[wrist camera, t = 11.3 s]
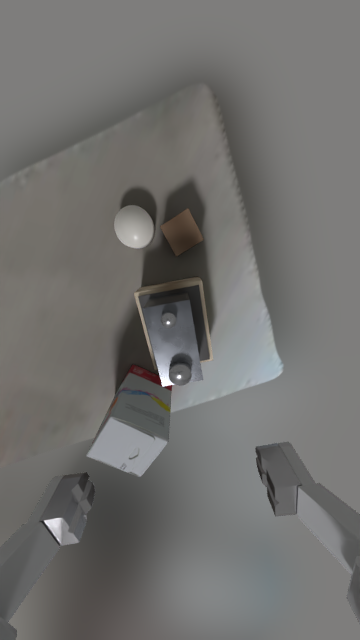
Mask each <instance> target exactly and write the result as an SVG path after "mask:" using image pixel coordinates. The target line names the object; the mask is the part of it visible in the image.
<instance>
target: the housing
mask: <svg viewBox="0 0 360 640" xmlns="http://www.w3.org/2000/svg"><path fill="white" fill-rule="evenodd" d="M142 309H143V313H144V317H145V321H146V325H147V328H148V332H149V336H150V340H151V344H152V348H153V352H154V355H155V359H156V363H157V367H158V371H159V375H160V379H161V382H162V386H168V385H185V384H187V383H188V382H193V381H199V380H203V376H202V370H201V364H200V358H199V352H198V346H197V340H196V334H195V328H194V323H193V317H192V311H191V305H190V299H189V296H188V293H187V291H186V292H181V293H175V294H170V295H164V296H159V297H154V298H149V299H148V301H147V302H146V304H145V305H144V307H143V308H142Z"/></svg>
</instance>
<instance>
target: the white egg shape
mask: <svg viewBox="0 0 360 640" xmlns="http://www.w3.org/2000/svg"><path fill="white" fill-rule="evenodd" d="M114 227H115V232H116V234H117V236H118V238H119V239H120V241H121V242H122V243H123V244H125V245H127V246H129V247H132V248H137V249H140V248H144V247H147V246H148V245H149V244H150V243H151V242H152V240H153V238H154V235H155V226H154V223H153V221H152V219H151V217H150V216H149V214H148V213H147V212H146V211H145V210H144V209H143V208H141V207H139V206H135V205H129V206H126V207H123V208H122V209H121V210H120V211H119V212H118V213H117V215H116V218H115V222H114Z"/></svg>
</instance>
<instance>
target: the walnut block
mask: <svg viewBox="0 0 360 640" xmlns="http://www.w3.org/2000/svg"><path fill="white" fill-rule="evenodd" d="M160 228H161V230H162V232H163V233H164V235H165V237H166V239H167V241H168V242H169V244H170V246H171V248H172V250H173V251H174V253H175V255H176V257H177V256H178V255H180V254H182V253H183V252H185V251H186V250H188V249H190V248H191V247H193V246H195V245H196V244H198V243H199V242H201V241H202V240H204V239H203V237H202V235H201V233H200V231H199V229H198V227H197V225H196V223H195V221H194V219H193V217H192V215H191V213H190V211H189V209H188V208H187V209H186V210H184V211H183V212H181V213H180V214H178V215H177V216H175V217H174V218H172V219H171V220H169V221H168V222H166V223H165V224H163V225H162V226H160Z"/></svg>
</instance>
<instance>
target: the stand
mask: <svg viewBox="0 0 360 640" xmlns="http://www.w3.org/2000/svg"><path fill="white" fill-rule="evenodd" d="M186 291H187V293H188V296H189V299H190V305H191V311H192V317H193V323H194V328H195V334H196V340H197V346H198V352H199V358H200V362H206V361H212V360H213V355H212V348H211V341H210V334H209V327H208V320H207V313H206V306H205V298H204V291H203V284H202V280H201V279H200V278H199V277H193V278H187V279H182V280H177V281H171V282H166V283H161V284H155V285H150V286H145V287H141V288H139V289H138V290H137V291H136V292H135V293H134V295H135V299H136V302H137V306H138V310H139V314H140V317H141V321H142V325H143V329H144V332H145V336H146V340H147V344H148V347H149V351H150V355H151V359H152V362H153V366H154V370H158V367H157V363H156V359H155V355H154V352H153V348H152V344H151V340H150V336H149V332H148V328H147V325H146V321H145V317H144V313H143V309H142V308H143V307H144V305H145V304H146V302H147V301H148V299H149V298H154V297H159V296H164V295H170V294H175V293H181V292H186Z"/></svg>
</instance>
